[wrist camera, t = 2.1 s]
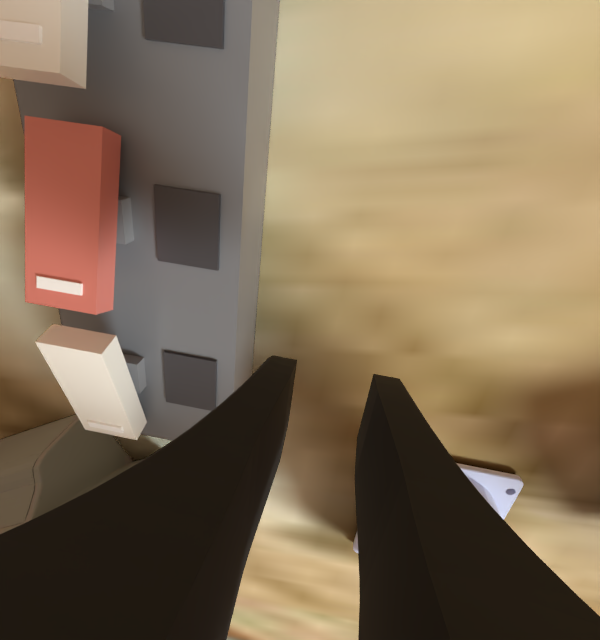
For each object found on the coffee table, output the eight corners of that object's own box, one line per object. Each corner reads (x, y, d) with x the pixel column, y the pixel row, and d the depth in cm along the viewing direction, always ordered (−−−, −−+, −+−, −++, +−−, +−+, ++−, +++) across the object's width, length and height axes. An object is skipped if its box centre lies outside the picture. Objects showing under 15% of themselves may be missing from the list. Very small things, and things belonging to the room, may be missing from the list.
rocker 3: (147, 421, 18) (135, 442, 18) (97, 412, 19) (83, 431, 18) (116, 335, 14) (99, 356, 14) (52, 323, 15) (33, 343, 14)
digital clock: (22, 508, 30) (-130, 676, 21) (-45, 422, 27) (-265, 579, 17) (203, 501, 27) (116, 703, 17) (154, 400, 23) (11, 586, 14)
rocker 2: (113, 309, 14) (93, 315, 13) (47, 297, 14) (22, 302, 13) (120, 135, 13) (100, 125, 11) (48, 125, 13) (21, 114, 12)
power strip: (249, 406, 22) (226, 461, 18) (120, 381, 23) (73, 430, 19) (305, -346, 10) (272, -628, 6) (28, -358, 11) (-151, -622, 7)
